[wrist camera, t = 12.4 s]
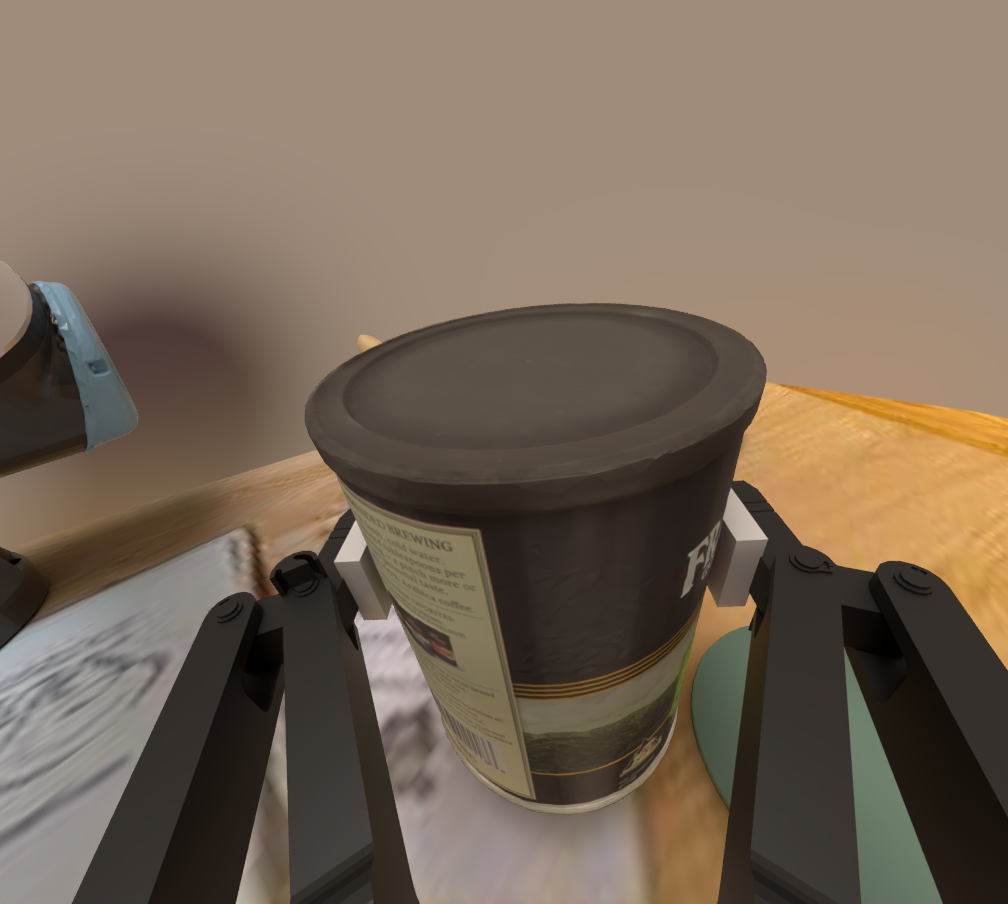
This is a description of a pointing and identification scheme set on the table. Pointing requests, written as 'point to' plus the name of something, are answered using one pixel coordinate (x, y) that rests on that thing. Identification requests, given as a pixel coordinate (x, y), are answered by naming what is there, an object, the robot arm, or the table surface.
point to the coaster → (878, 803)
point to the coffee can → (546, 524)
